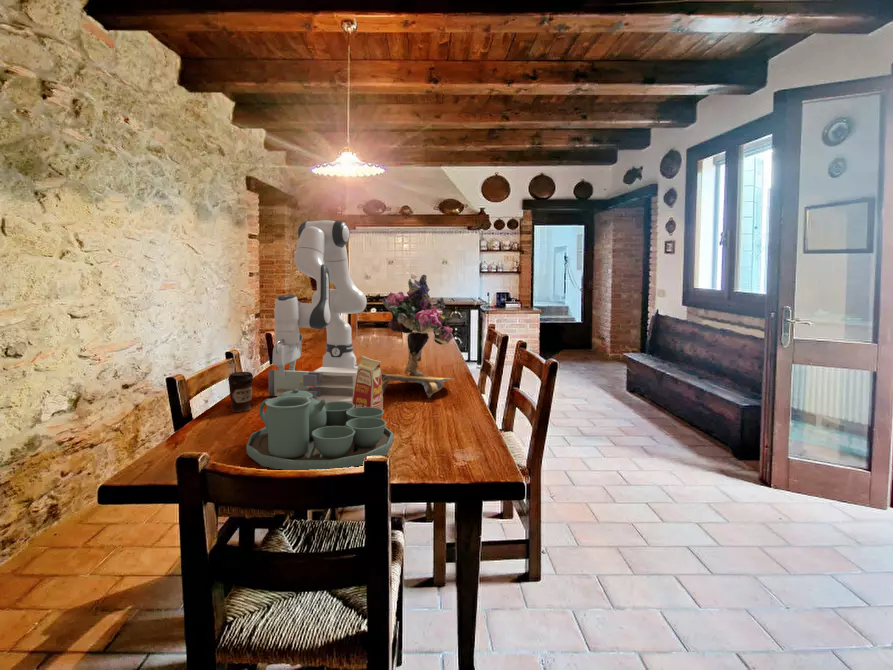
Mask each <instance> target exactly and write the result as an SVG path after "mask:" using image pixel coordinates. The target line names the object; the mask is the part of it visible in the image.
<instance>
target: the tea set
mask: <svg viewBox="0 0 893 670" xmlns="http://www.w3.org/2000/svg"><path fill="white" fill-rule="evenodd" d="M312 396H313V395H312V394H311V393H310V392H307V391H301V390H298V389H293V391H287V392H283V393H282V394H280V395H279V396H278V397H272V398H266V399H264V400H263V401H262V402H261V403H260V405H259V409H258V415H259V417H260V419H261V421H262V422H263V423H264V426H265V427H263V428H261V429H259V430H257V431H255V432H252V433H251V434H250V436H249V438H248V441H247V443H246V446H245V448H246V454H247V455H248V457H249V458H251V459H252V460H253V461H254V462H256V463H257V464H259V465H260V466H261V467H264V468H268V467H269V468H270V469H275V470H278V469H282V470H281V471H283V470H309V469H330V468H343V467H351V466H359V467H361V466H360V465H362V464H363V461H364V458H365V457H366V456H370V455H382V456H383V457H385V456H386V455H385V454H387V455H388V453H389V451H390V448H391V446H392V443H393V441H394V432H392V431H391V430H390V429H389V428H387V427H386V424H387V421H386V420H384V419H383V415H384V413H385V411H384V409H383V410H382V409H379V408H375V407H357V408H354V407H355V405H353V404H352V403H348V402H339V401H337V402H327V403H326V401H325V400H324V399H322V400H321V401H318V400H316V399H313V398H312ZM265 406H266V408H265V411H264V407H265Z"/></svg>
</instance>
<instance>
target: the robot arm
mask: <svg viewBox="0 0 893 670" xmlns="http://www.w3.org/2000/svg"><path fill="white" fill-rule="evenodd" d="M350 235H351V234H350V228H349V225H347V223H346V222H344V221H341V220H336V221H335V220H329V219H328V220H327V219H326V220H325V219H323V220H313V221H310V220H308V221H304V222H301V223H300V224H299V226H298V229H297V237H298V241H297V244H296V249H295V252H294V253H295V254H294V265H295V267H296V268H297V270H298V271H299V272H301V273H302V274H304V275H306V276H307V277H309V278H312V279H314V280H315V281H316V291H314V293H313V294H312V296H311V303H309V302H301V301H299V300H298V297H297V295H295V294H281V295H278V297H276V298H275V303H274V316H273V317H274V321H275V327H274V343H275V345H274V347H273V349H272V365H273V366H274V367H277V370H279V372H280V377H284V376H285V375H286V372H285V370H286V369H285V366H286V365H288V364H289V367H288V370H289V371H296V369H295V368H296V364H297V363H296V362H297V360H299V359H300V358H301V354H302V341H303V334H302V333H300V328H304V329H305V328H306V329H308V328H309V329H314V330H319V331H321V330H324V329H325V328H326V344H325V353H324V354H323V355H322V367H336V368H358V366H359V365H358V364H357V357H356V355H355V353H354V342H352V338H353V337H352V331H353V330H352V326H351V325H350V324H349V323H348V322H347V321H345V320H344V319H343V317H342V315H341V314H345V315H346V314H348V315H350V314H351V315H353V314H359V313H363V311H365V309H366V307H367V303H368V301H367V300H368V299H367V297H366V295H365V293H364V291H363V290H362V291H361V290H360V289H359V288H358V287H357V286H356V284H355V282H353V279H352V276H351V274H350V267H349V261H348V260H349V259H348V252H347V250H348V249H347V247H346V245H347V244H348V242H349V240H350ZM330 283H331V284H332V285H334V287H335V288H330V287H331V285H330Z"/></svg>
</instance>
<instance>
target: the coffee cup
mask: <svg viewBox="0 0 893 670" xmlns="http://www.w3.org/2000/svg"><path fill="white" fill-rule="evenodd" d="M253 377H254V374H253V373H252V372H251V371H236V372H232V373H230V374H229V376H228V378H227V381H228V388H229V397H230V402H231V403H230V406H231V410H232V412H233V413H234V412H236V413H238V412H239V413H240V412H247V411H251V409H252V405H251V404H252V403H251V401H252V396H253V385H252V384H253V383H252V382H253V379H254V378H253Z"/></svg>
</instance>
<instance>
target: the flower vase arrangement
mask: <svg viewBox="0 0 893 670" xmlns="http://www.w3.org/2000/svg"><path fill="white" fill-rule="evenodd" d="M407 281H408V283H407V284H408V289H409V290H408V291H407V292H406V294H407V295H404V291H403V292H402V291H399V292H396V293H395V292H392V291H391V292H389V293H388V298H385V297H383V298H382V304H383V306H384V307H385V308H386V310H388V311H389V312H390V313H391V315H392V317H391V319H390V321H389V322H388V324H387V325H388V327H389V329H390V330H391V331H393V332H395V333H402V334H403V333H404V334H407V348H408V360H407V364H406V367H405V371H404V374H387V373H381V379H382V395H383V394H385V389H386V387H387V386H388V385H389V383H390V382H391V381H392V382H393V381H396V382H397V381H399V382H404V381H408V382H407V383H411V382H412V383H416V384H421V385H422V386H423V388H424V391H425V393H426V396H427V398H428V399H429V398H430V399H431V397H432V396H433V395H434V394H435V393H437V392H439V391H440V390H442V389H443V388H444V383H445V382H447V381H448V382H449V381H452V380H454V378H452V377H441V376H440V377H435V376H431V375H430V376H429V375H425V374H424V373H423V372H421V371H419V369H418V367H419V365H418V364H420V362H421V361H422V352H423V348H424V347H425V345H426V344H427V343H428V340H429V339H430V336H429V333H430V332H433V334H434V335H433V336H434V337H433V338H434V339H433V340H434V342H435V343H436V344H437V345H441V346H446V345H447V344H449V343H450V341H451V340H452V339H453V338H454V334H453V330H454V329H453V328H451V327H450V326H449V325H446V326H445V325H443V324H444V323H446V322H448V321H450V320H452V319H453V318H452V317H448V316H446V314H447V311H443V310H444V309H445V308H446V306H445V305H447V302H445V299H444V297H440V298H439V299H437V300H436V301H437V302H436V304H433V303H432V301H431V300H433V297H431V300H430V295H429V291H430V290H431V289H430V287H429V286H428V283H427V275H426V274H422V275H421V276H420V279H419V280H418V279H414V280H413V281H414V282H413V281H412V280H411V278H409V279H408V280H407ZM408 374H409V375H408ZM404 383H405V382H404Z"/></svg>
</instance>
